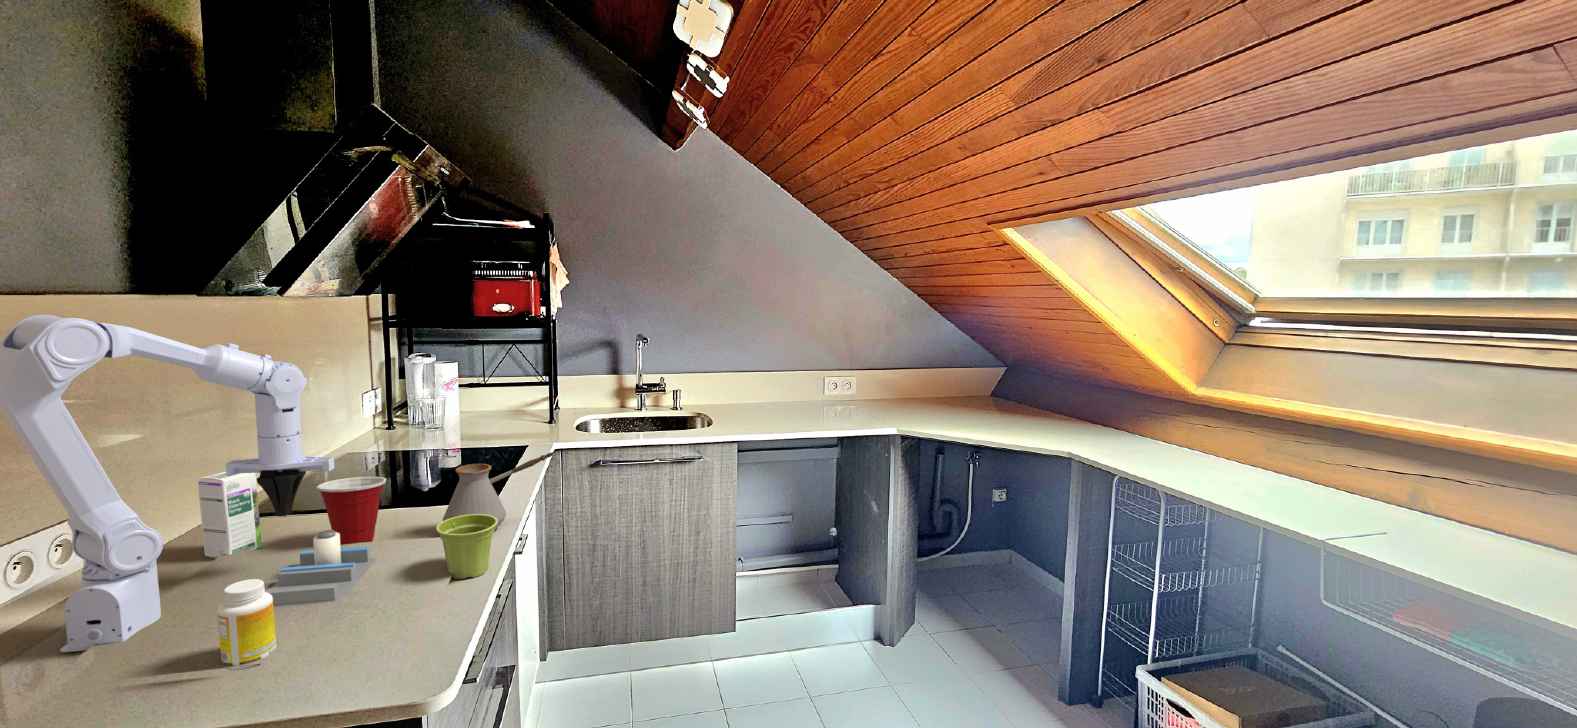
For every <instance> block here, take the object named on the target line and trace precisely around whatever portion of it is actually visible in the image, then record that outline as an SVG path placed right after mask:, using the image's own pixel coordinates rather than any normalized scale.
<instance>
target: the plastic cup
mask: <svg viewBox="0 0 1577 728" xmlns="http://www.w3.org/2000/svg"><path fill="white" fill-rule="evenodd" d="M386 481H387V478H386V477H383V476H356V477H347V478H340V479H338V478H337V479H334V480H333V479H332V480H329V481H325V482H322V483H320V484H318V485H317V486H316V488H317V490H319V493H320V494H321V497H322V499H323V503H324V505H325V509H326V513H327V517H328V521H329V524H330V528H331V529H330V530H334V531H335V532H338V533H340V545H351V544H360V543H363V544H364V543H373V541H374V537H375V533H376V525H377V521H378V515H379V509H380V508H379V506H380V499H381V495H382V491H383V488H384V485H385V484H386Z"/></svg>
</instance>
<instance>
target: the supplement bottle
mask: <svg viewBox="0 0 1577 728" xmlns="http://www.w3.org/2000/svg"><path fill="white" fill-rule="evenodd" d="M265 588H266V587H265V582H264V581H263V580H262V579H259V578H257V579H256V578H251V579H244V580H240V581H236V582H234V583H232V584H228V585H227V586H226V587H225V588H224V589H223V593H224V594H223V599H224V601H223V602H221V603H220V604H219V605H218V606H217V609H216V617H217V630H218V636H219V637H218V638H219V641H218V642H219V649H220V661H221V663H222V664H224V665H226V666H225V667H223V668H224V669H226V670H228V671H242V670H247V669H251V668H255V667H258V666H260V665H261V663H253V662H257V661H259V660H261V659H264V658H267V657H268V656H269V655H271V654H273V653H274V652H275V651H276V649H277V638H276V637H277V636H276V623H275V622H276V620H275V609H274V608H275V607H273V597H272V595H271V594H269V593H267V592H265V590H266V589H265ZM250 663H253V664H250Z"/></svg>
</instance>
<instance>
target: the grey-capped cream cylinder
mask: <svg viewBox="0 0 1577 728" xmlns="http://www.w3.org/2000/svg"><path fill="white" fill-rule="evenodd" d="M312 541H313V543H312V544H313V550H314V559H315V565H326V564H340V563H341V549H342V548H341V544H340V533H338V532H335V531H334V530H332V529H327V530H321V531H319V532H318V533H317V535H315V536H313V538H312Z"/></svg>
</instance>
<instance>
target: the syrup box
mask: <svg viewBox="0 0 1577 728" xmlns="http://www.w3.org/2000/svg"><path fill="white" fill-rule="evenodd" d="M256 475H257V474H256V473H236V474H234V475H227V474H226V471H222V472H219V473H218V472H217V473H216V474H211V475H207V476H203V477H199V478H197V487H198V498H199V499H198V500H199V509H200V517H201V520H200V521H201V529H202V538H203V549H204V556H205V557H210V558H214V559H218V558H220V557H221V556H222V555H228V556H230V555H234V554H236V553H238V552H242V551H254V550H259V549H260V548H262V547H263V546H262V535H261V522H260V513H259V512H260V511H259V500H258V499H259V498H258V488H257V487H258V485H257V476H256Z"/></svg>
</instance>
